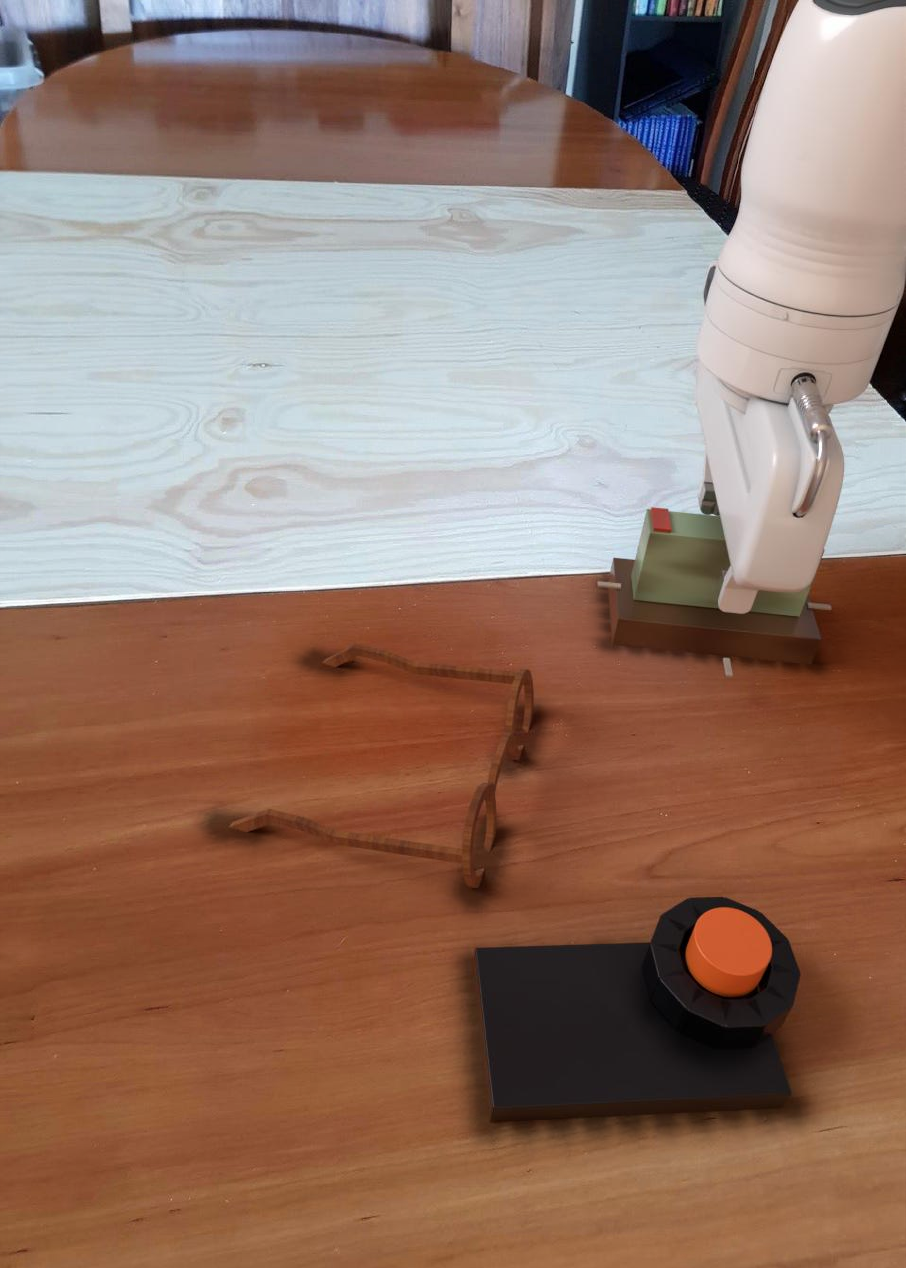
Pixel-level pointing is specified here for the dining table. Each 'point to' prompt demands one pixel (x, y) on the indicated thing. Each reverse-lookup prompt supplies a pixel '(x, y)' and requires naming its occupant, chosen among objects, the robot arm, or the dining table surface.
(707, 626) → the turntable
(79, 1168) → the dining table surface
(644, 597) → the green battery pack
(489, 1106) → the control block
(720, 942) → the button
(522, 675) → the glasses
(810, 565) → the robot arm
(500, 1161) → the dining table surface
